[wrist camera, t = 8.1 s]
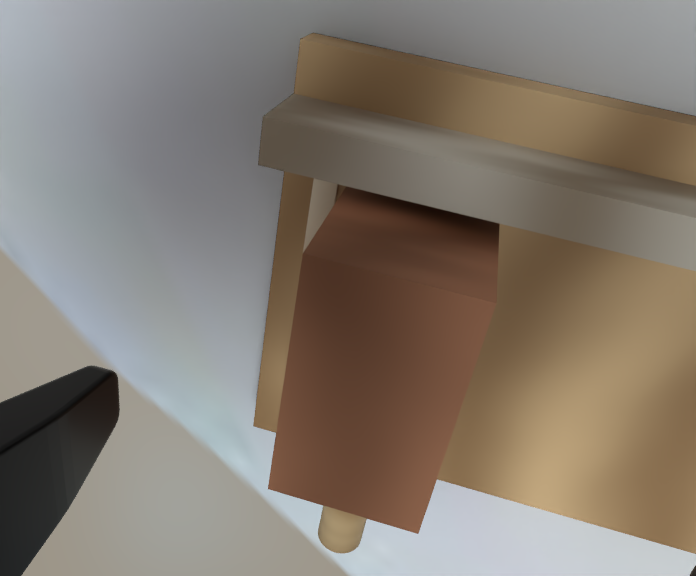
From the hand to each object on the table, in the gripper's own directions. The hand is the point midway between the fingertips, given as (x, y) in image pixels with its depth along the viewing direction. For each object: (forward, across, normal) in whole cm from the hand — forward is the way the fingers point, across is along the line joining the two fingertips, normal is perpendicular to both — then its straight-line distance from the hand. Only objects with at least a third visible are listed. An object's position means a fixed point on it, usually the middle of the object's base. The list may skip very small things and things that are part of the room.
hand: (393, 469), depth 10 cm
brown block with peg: (+10, +1, +5) cm, 11 cm away
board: (+11, -3, +3) cm, 12 cm away
